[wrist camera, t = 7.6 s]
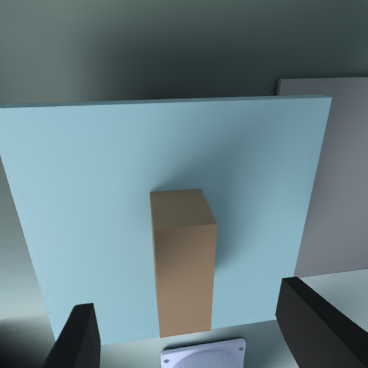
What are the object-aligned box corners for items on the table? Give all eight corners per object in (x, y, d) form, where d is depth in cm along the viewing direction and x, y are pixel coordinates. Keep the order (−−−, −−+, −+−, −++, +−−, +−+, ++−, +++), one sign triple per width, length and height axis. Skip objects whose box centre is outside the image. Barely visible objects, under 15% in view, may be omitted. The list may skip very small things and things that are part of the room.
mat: (418, 258, 27) (421, 261, 27) (251, 279, 25) (253, 283, 24) (501, 73, 20) (508, 73, 19) (278, 78, 17) (281, 79, 17)
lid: (278, 308, 20) (309, 363, 16) (61, 338, 18) (45, 408, 14) (321, 94, 14) (384, 112, 10) (-5, 104, 12) (-61, 131, 8)
